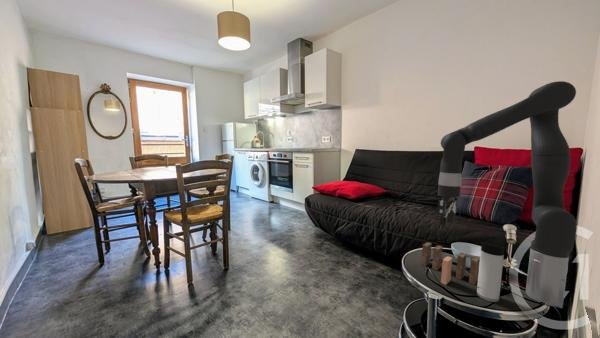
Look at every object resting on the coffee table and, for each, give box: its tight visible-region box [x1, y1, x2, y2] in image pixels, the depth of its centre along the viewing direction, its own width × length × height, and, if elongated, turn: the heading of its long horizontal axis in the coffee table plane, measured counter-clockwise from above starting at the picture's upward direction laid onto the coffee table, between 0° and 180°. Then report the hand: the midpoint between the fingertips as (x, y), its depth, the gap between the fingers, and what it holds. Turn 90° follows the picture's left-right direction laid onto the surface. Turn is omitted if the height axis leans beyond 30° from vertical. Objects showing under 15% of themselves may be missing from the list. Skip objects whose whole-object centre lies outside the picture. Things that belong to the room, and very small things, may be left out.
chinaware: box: [450, 241, 481, 269], centre depth 106 cm, size 15×15×8 cm
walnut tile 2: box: [431, 244, 443, 271], centre depth 103 cm, size 2×5×10 cm, turn 130°
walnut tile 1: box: [421, 241, 433, 267], centre depth 106 cm, size 2×5×10 cm, turn 130°
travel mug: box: [476, 241, 505, 303], centre depth 83 cm, size 6×7×20 cm
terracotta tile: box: [440, 255, 453, 286], centre depth 92 cm, size 2×5×10 cm, turn 131°
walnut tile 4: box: [468, 256, 480, 286], centre depth 93 cm, size 2×5×10 cm, turn 130°
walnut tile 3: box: [455, 252, 467, 280], centre depth 96 cm, size 2×5×10 cm, turn 130°
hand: (446, 224), depth 93 cm, fingers open, 8 cm apart
